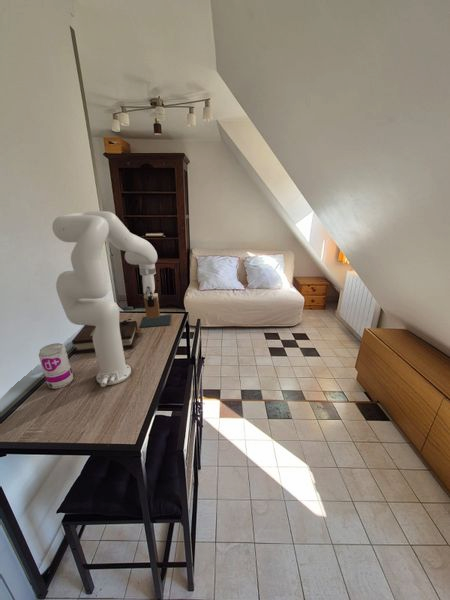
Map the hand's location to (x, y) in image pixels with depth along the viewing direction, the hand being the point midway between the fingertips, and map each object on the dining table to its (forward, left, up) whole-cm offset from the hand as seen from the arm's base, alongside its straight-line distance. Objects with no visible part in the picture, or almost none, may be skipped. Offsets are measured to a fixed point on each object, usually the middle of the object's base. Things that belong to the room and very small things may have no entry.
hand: (151, 304), depth 132 cm
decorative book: (-11, +21, -15) cm, 28 cm away
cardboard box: (0, 0, -7) cm, 7 cm away
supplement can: (-40, +31, -15) cm, 53 cm away
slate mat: (+10, 0, -15) cm, 18 cm away
